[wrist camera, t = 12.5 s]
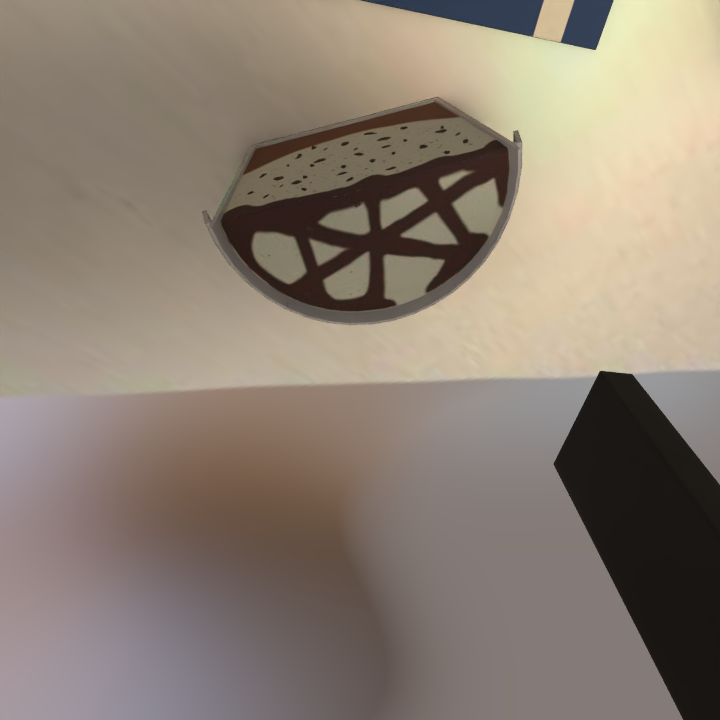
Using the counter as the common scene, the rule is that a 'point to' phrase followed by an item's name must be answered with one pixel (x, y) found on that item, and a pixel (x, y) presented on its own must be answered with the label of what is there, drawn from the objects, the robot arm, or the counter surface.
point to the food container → (369, 212)
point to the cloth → (523, 16)
